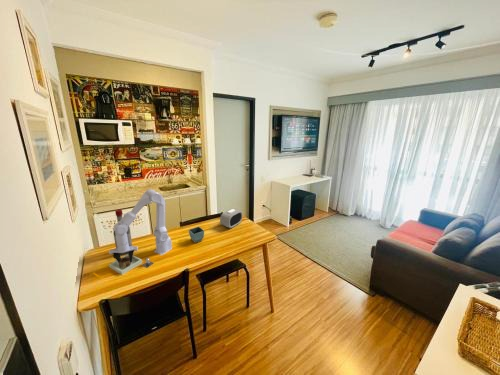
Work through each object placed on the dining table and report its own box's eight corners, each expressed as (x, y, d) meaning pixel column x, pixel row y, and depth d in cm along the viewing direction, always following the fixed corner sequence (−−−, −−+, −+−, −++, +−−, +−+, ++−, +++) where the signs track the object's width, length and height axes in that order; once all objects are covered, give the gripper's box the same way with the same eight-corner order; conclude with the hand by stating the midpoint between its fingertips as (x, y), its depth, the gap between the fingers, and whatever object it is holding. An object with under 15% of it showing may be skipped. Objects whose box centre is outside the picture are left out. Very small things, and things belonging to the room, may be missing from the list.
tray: (130, 257, 132) (129, 253, 132) (142, 263, 127) (142, 259, 126) (109, 268, 122) (108, 264, 121) (122, 275, 116) (121, 271, 115)
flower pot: (194, 245, 148) (193, 234, 145) (188, 240, 154) (188, 229, 152) (204, 241, 153) (204, 230, 151) (199, 236, 160) (198, 226, 157)
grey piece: (148, 261, 129) (148, 255, 128) (154, 264, 127) (153, 257, 125) (141, 265, 125) (140, 259, 123) (146, 268, 122) (146, 262, 121)
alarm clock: (228, 230, 170) (228, 216, 166) (220, 227, 175) (219, 213, 171) (242, 222, 187) (243, 208, 183) (234, 219, 192) (234, 206, 188)
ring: (132, 260, 127) (131, 256, 126) (129, 266, 121) (129, 262, 121) (121, 261, 125) (121, 257, 125) (119, 268, 120) (118, 264, 119)
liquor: (117, 256, 132) (109, 214, 124) (117, 249, 139) (110, 209, 131) (133, 252, 137) (127, 211, 128) (132, 246, 144) (126, 206, 136)
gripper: (137, 237, 125) (140, 256, 129) (110, 240, 121) (114, 259, 125) (135, 243, 119) (138, 263, 123) (106, 246, 115) (110, 267, 119)
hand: (125, 262), depth 124 cm, fingers closed on ring, 5 cm apart
